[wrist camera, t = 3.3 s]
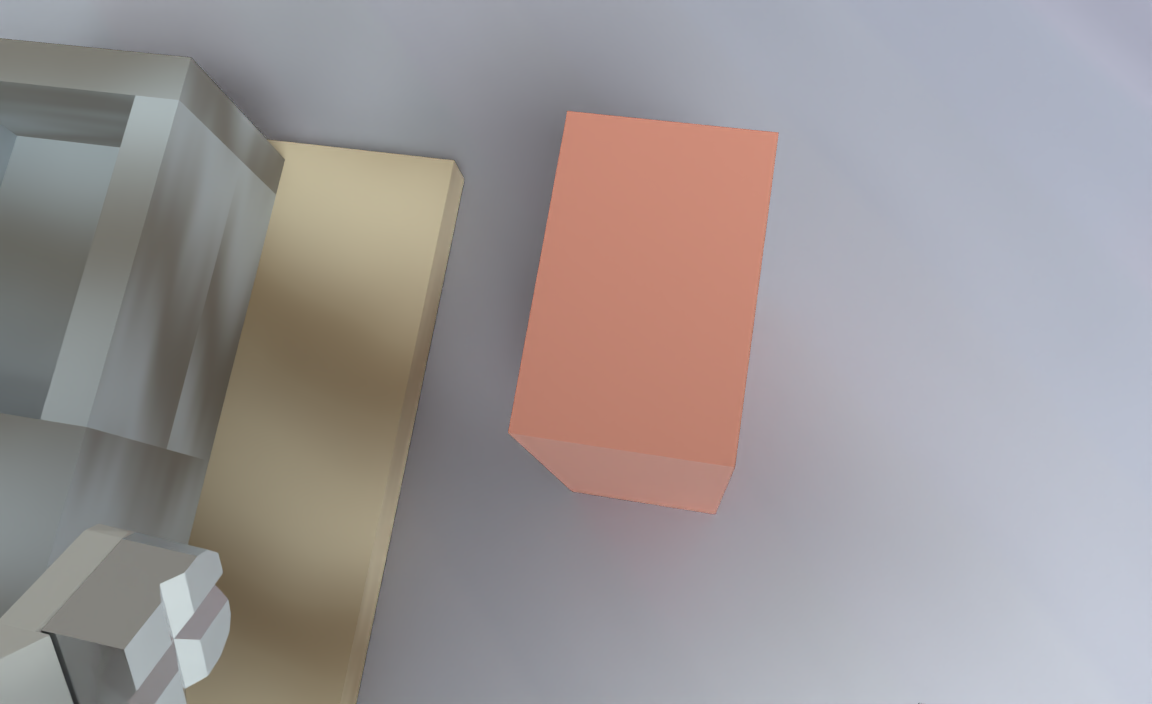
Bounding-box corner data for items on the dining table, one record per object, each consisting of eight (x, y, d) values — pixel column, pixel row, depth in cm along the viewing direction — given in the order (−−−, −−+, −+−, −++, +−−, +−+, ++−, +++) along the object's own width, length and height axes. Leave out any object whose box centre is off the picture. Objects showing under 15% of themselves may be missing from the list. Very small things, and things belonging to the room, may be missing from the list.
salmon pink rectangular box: (715, 514, 23) (735, 466, 14) (571, 491, 24) (508, 432, 15) (744, 296, 24) (778, 132, 16) (607, 279, 25) (567, 110, 16)
